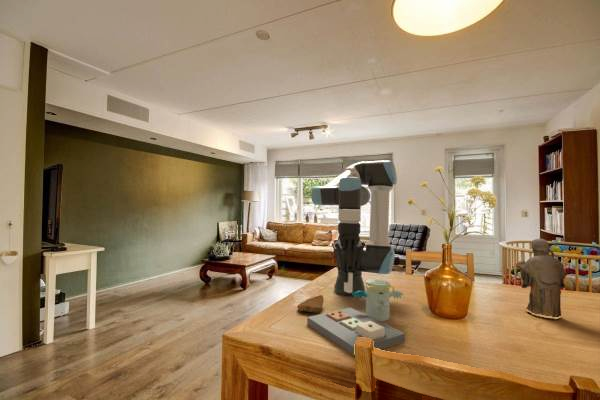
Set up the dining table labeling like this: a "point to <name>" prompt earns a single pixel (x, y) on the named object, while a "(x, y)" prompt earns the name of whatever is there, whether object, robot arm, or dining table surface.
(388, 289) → the character sculpture
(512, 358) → the dining table surface
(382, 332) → the tile one
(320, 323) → the button board
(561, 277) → the sculpture
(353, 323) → the tile two
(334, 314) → the tile three
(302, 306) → the artifact
